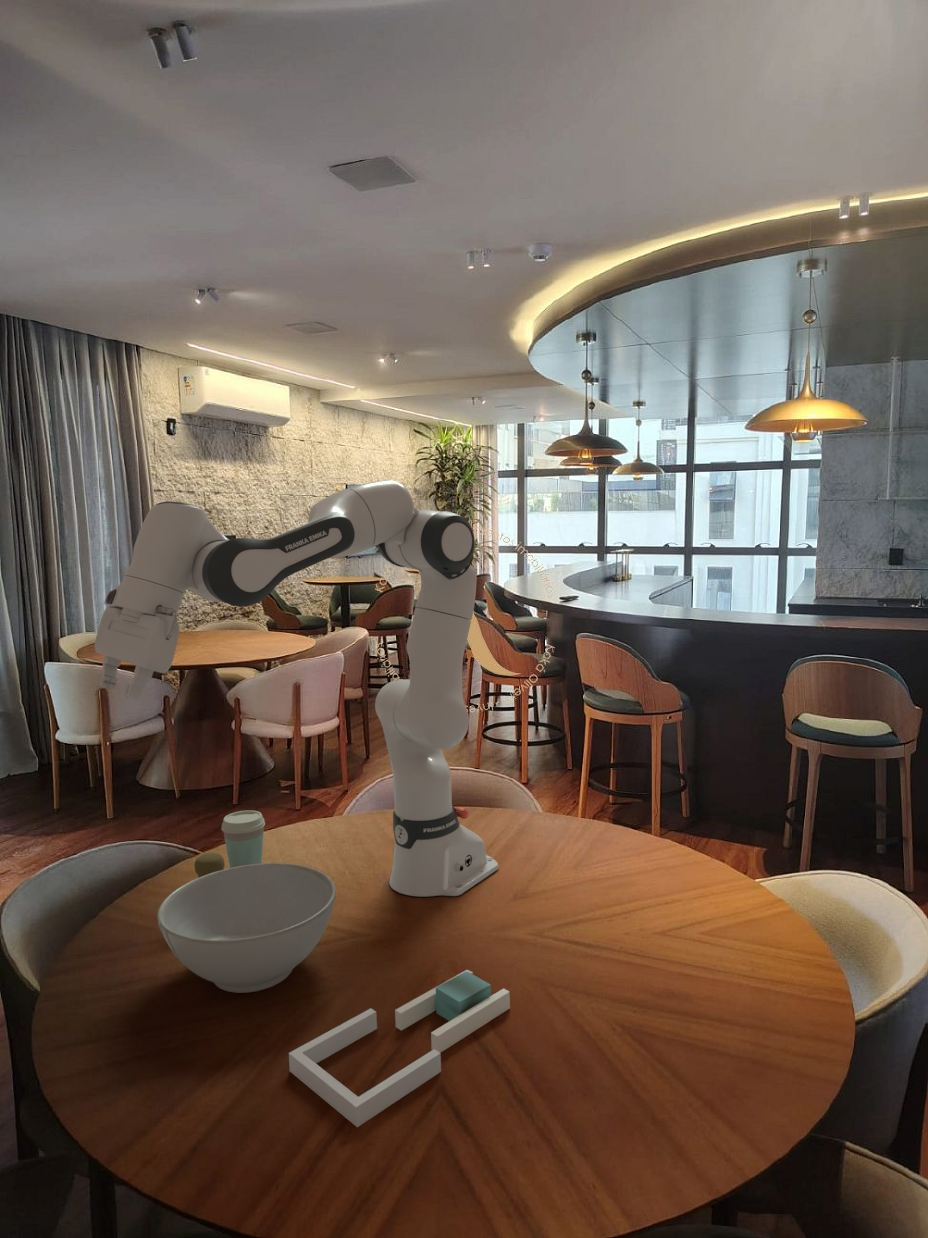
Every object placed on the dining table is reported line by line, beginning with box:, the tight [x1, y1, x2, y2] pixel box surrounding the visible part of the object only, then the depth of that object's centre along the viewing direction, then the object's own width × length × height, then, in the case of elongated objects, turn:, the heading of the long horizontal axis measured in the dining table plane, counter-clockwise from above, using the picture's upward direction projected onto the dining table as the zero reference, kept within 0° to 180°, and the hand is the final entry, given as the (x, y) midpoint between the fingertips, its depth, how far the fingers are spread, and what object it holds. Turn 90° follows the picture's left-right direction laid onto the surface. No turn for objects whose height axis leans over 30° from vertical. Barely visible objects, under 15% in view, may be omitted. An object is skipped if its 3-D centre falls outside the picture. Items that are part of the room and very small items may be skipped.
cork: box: [194, 852, 226, 878], centre depth 147 cm, size 6×6×11 cm
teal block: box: [435, 971, 492, 1022], centre depth 115 cm, size 6×5×4 cm
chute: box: [394, 969, 511, 1053], centre depth 114 cm, size 14×9×2 cm, turn 134°
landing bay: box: [288, 1007, 442, 1128], centre depth 103 cm, size 13×14×2 cm
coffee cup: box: [220, 809, 266, 868], centre depth 164 cm, size 8×9×12 cm
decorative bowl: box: [157, 862, 337, 994], centre depth 127 cm, size 27×27×12 cm
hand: (118, 693), depth 120 cm, fingers open, 8 cm apart
